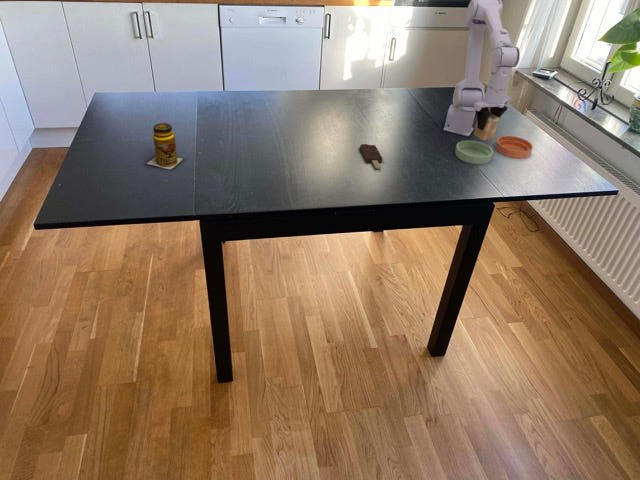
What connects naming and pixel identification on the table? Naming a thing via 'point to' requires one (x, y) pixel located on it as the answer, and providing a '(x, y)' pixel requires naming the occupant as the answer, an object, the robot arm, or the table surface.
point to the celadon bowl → (473, 152)
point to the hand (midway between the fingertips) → (485, 127)
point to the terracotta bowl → (513, 147)
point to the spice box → (487, 128)
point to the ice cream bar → (371, 154)
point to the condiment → (164, 147)
